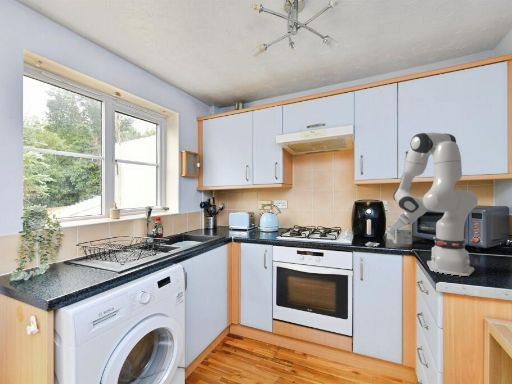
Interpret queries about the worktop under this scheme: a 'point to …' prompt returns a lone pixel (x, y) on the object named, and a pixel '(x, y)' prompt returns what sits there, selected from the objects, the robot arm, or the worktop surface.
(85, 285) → the worktop surface
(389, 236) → the grey module
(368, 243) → the mounting pad
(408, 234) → the light bulb box
